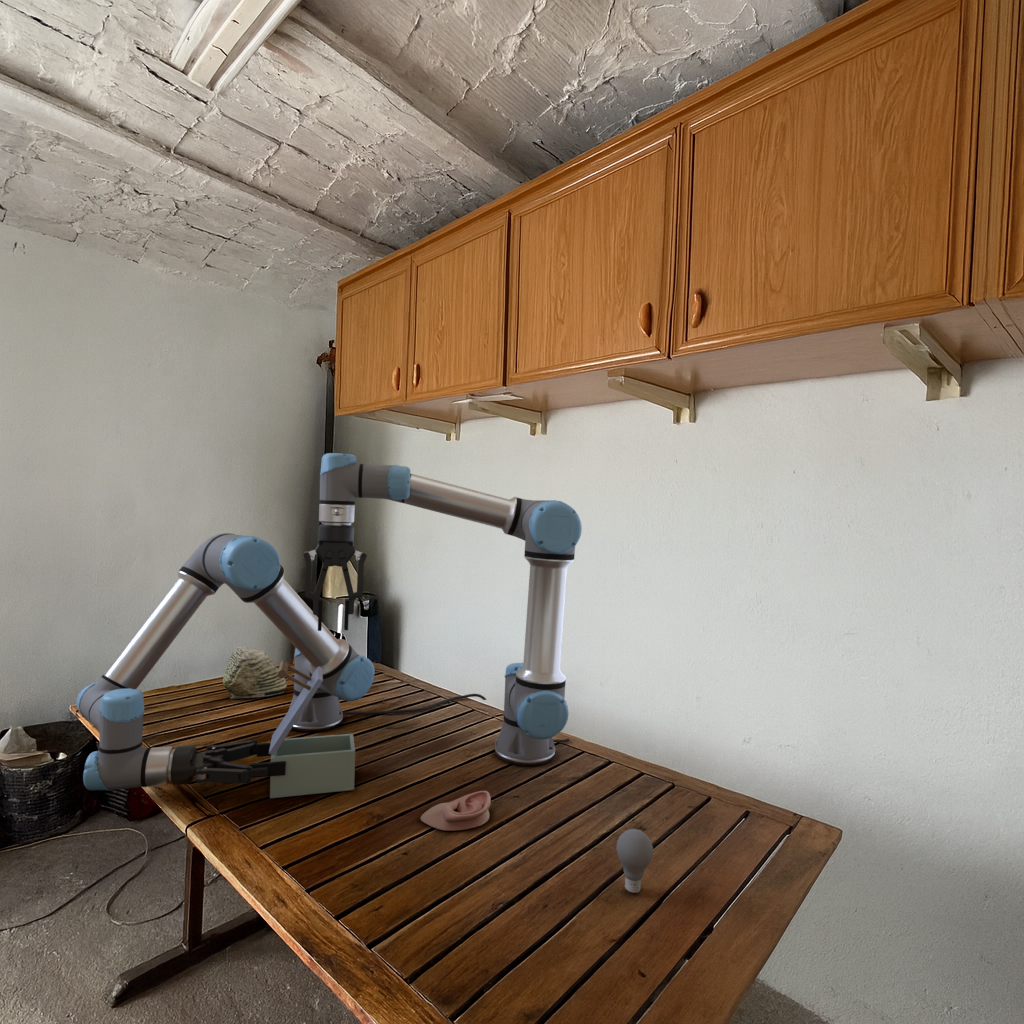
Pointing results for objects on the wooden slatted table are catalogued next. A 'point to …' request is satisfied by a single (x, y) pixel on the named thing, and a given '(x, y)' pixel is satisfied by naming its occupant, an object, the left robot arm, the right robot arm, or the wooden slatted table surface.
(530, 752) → the right robot arm
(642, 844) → the light bulb
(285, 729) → the lid
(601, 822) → the wooden slatted table surface
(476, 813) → the anatomical model
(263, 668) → the fossil
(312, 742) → the chest
